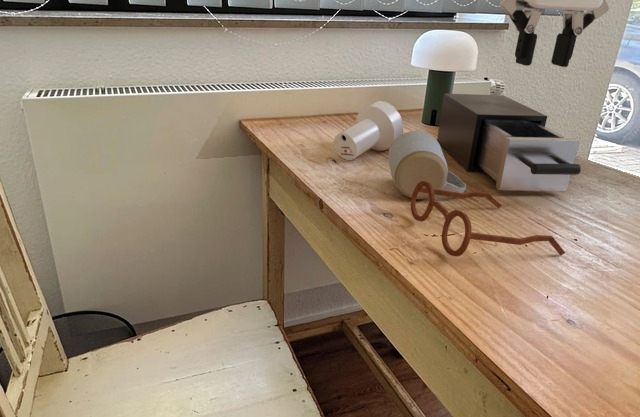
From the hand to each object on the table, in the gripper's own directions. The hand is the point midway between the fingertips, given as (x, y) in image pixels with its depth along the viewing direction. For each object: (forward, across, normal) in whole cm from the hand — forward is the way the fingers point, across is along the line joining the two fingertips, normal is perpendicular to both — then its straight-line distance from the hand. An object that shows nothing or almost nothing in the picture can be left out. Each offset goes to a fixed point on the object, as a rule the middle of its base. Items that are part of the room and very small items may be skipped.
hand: (541, 63), depth 66 cm
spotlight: (+18, -20, +14) cm, 30 cm away
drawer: (+16, 0, 0) cm, 16 cm away
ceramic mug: (+18, -15, -4) cm, 23 cm away
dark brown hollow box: (+17, 0, +12) cm, 21 cm away
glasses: (+18, -12, -16) cm, 27 cm away
